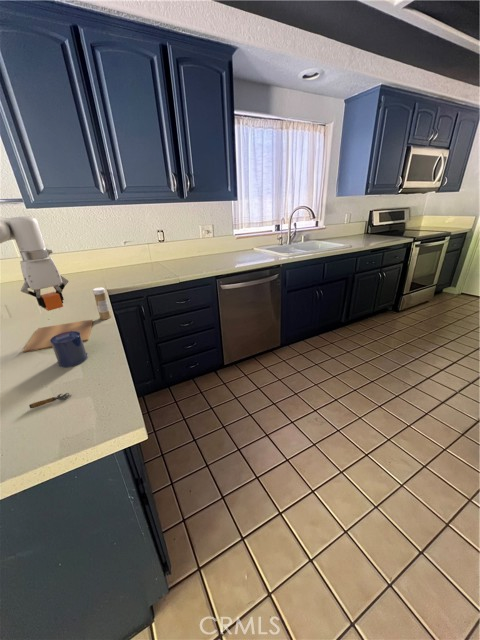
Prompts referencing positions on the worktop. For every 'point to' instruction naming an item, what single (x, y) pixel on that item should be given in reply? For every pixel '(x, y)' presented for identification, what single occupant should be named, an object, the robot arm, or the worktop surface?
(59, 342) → the navy cup
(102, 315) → the sprinkles bottle
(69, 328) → the wooden cutting board
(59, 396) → the fork
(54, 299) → the orange block
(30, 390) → the worktop surface
